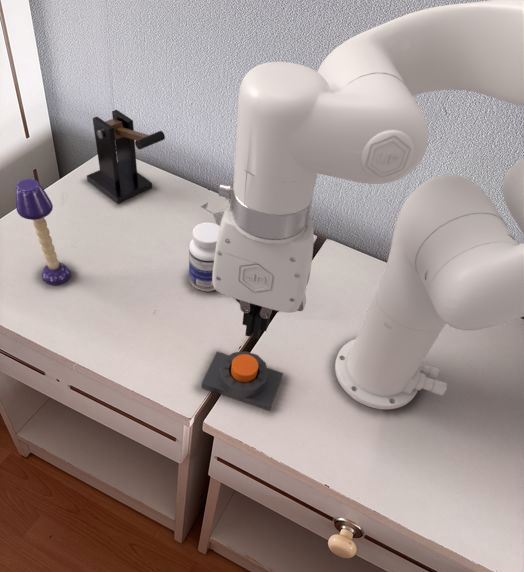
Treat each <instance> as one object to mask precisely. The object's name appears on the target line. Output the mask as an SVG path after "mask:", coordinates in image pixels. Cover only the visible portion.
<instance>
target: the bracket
mask: <svg viewBox="0 0 524 572" xmlns="http://www.w3.org/2000/svg"><path fill="white" fill-rule="evenodd" d="M111 114H112V115H111V116H112V119H114V120H118V121H122V124H123V128H126V129H130V130H133V131H135V130H134V129H135V127H134V120H133V119H131V118H130V117H129V116H127V115H126V114H124V113H122V112H121V111H119V110H118V109H114V110H111ZM105 121H106V120H103V119H101V118H100V117H98V116H95V117H92V125H93V132H94V138H95V139H94V140H95V146H96V152H97V159H98V166H99V170H97V171H94V172H91V173H89V174H87V175H86V180H87V182H88V183H90V185H92V186H93V187H95V188H96V189H97V190H98V191H100V192H101V193H102V194H104V195H105V196H106V197H108V198H109V199H110V200H112V201H113V202H114V203H116V204H117V205H120V204H122V203H124V202H127V201H128V200H130V199H132V198H135V197H137V196H139V195H141V194H143V193H145V192H148V191H149V190H152V189H153V182H152V181H150V180H149V179H148V178H146V177H145V176H144V175H142V174H141V173H139V172H138V168H137V155H136V145H135V141H136V140H133V139H130V138H126V137H121V138H119V139H116V140H115V136H114V128H113V127H112V126H110V125H109V124H107V123H106V122H105Z"/></svg>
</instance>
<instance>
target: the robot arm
mask: <svg viewBox="0 0 524 572" xmlns="http://www.w3.org/2000/svg"><path fill="white" fill-rule="evenodd" d="M449 90H450V91H451V90H454V91H464V92H465V91H466V92H473V93H476V94H481V95H484V96H488V97H491V98H494V99H495V100H499V101H502V102H505V103H508V104H513V105H516V106H519V107H520V106H521V107H524V0H482V1H473V2H462V3H453V4H446V5H438V6H433V7H429V8H424V9H420V10H416V11H413V12H410V13H407V14H405V15H402V16H399V17H397V18H393V19H392V20H388V21H386V22H384V23H381V24H379V25H377V26H375V27H371V28H369V29H367V30H365V31H363V32H361V33H358V34H356V35H354V36H353V37H351V38H350V37H349V38H348V39H347V40H345V41H344V42H342V43H340V45H338V46H336V47H335V48H333V50H332V51H331V52H329V54H328V55H327V56H325V58H324V59H323V61H322V62H321V64H320V65H319V67H318V69H317V71H316V70H315V69H313V68H312V67H308V66H306V65H303V64H299V63H295V62H291V61H289V62H288V61H269V62H264V63H260V64H258V65H256V66H255V67H252V68H251V69H250V70H249V71H247V73H246V74H245V75H244V77H243V79H242V81H241V83H240V86H239V91H238V103H237V119H236V120H237V121H236V133H235V134H236V135H235V136H236V137H235V151H234V168H233V169H234V170H233V182H232V183H231V182H229V183H227V182H221V183H220V184H219V188H218V197H221V198H225V200H226V201H228V203H229V205H228V207H227V208H226V209H225V210H224V211H223V212H224V214H223V217H222V220H221V224H220V228H219V232H218V238H217V243H216V250H215V257H214V265H213V275H212V282H213V287H214V288H215V289H216V290H215V291H217V292H218V293H220V294H221V295H224V296H226V297H229V298H232V299H234V300H235V301H236V302H237V303H238V304H239V309H240V311H241V312H242V313H243V315H242V325H243V326H246V327H245V335H244V336H245V337H248V338H250V337H252V338H253V339H256V340H259V337H260V335H261V333H262V332H267V330H268V328H269V324H270V319H271V315H273V314H276V313H280V312H281V313H288V314H291V313H295V312H303V311H304V309H305V306H306V303H307V299H306V291H307V286H308V284H309V281H310V277H311V270H312V265H313V264H312V263H313V255H314V254H313V253H314V241H315V240H314V239H315V236H314V231H315V230H314V222H313V219H312V218H311V216H310V212H311V209H312V203H313V197H314V192H315V188H316V183H317V179H318V174H319V175H323V176H328V177H333V178H337V179H341V180H346V181H351V182H355V183H360V184H369V185H382V184H388V183H393V182H396V181H399V180H400V179H403V178H404V177H406V176H408V175H409V174H410V173H412V172H413V171H414V170H415V169H416V168H417V167H418V166H419V164H420V163H421V162H422V160H423V159H424V156H425V154H426V151H427V149H428V143H429V128H428V123H427V120H426V118H425V115H424V114H423V111H422V109H421V107H420V106H419V104H418V103H417V101H416V99H415V98H414V96H417V95H421V94H424V93H429V92H436V91H449ZM501 190H502V191H501V192H502V197H503V201H504V202H505V203H504V204H505V206H506V209H508V211H509V213H510V215H511V217H512V218H513V220H514V221H515V223H516V225H517V226H518V228H519V229H520V230H521V232H522V233H523V234H524V157H521V158H520V159H518V160H517V161H516V162H514V164H513V165H512V166H510V168H509V169H508V170H507V172H506V174H505V176H504V177H503V181H502V188H501ZM521 318H524V242H522V243H519V242H518V241H517V239H516V238H515V236H514V235H513V233H512V231H511V230H510V229H509V226H508V224H507V223H506V221H505V219H504V218H503V216H502V215H501V213H500V211H498V208H497V207H496V205H495V204H494V203H493V201H492V200H491V198H490V197H489V196H488V194H487V193H486V192H485V191H484V189H482V188H481V187H480V186H479V185H478V184H477V183H475V182H474V181H473V180H471V179H469V178H467V177H464V176H461V175H457V174H442V175H437V176H434V177H431V178H430V179H427V180H425V181H424V182H422V183H421V184H420V185H418V186H417V187H416V188H414V190H413V191H412V192H410V194H409V195H408V196H407V198H406V200H405V201H404V202H403V205H402V206H401V209H400V211H399V213H398V215H397V218H396V222H395V226H394V230H393V235H392V239H391V245H390V250H389V254H388V258H387V261H386V265H385V267H384V271H383V273H382V276H381V278H380V281H379V283H378V284H377V287H376V290H375V291H374V294H373V297H372V299H371V302H370V304H369V307H368V309H367V311H366V314H365V316H364V319H363V320H362V324H361V325H360V328H359V331H358V333H357V335H356V338H353V339H351V340H349V341H348V342H346V343H345V344H344V345H342V347H341V348H340V349H339V351H338V354H337V355H336V358H335V363H334V370H335V376H336V379H337V381H338V383H339V384H340V385H339V386H341V388H342V389H343V390H344V391H345V393H346V394H347V395H349V396H350V397H351V398H352V399H353V400H354V401H356V402H358V403H360V404H361V405H363V406H367V407H369V408H373V409H377V410H395V409H399V408H402V407H404V406H405V405H407V404H409V403H410V402H411V401H412V400H414V398H415V396H416V395H417V393H418V391H421V390H426V391H428V392H429V393H431V394H435V395H439V396H441V397H442V396H444V395H445V394H446V391H447V387H448V383H447V382H445V381H441V380H439V379H436V378H438V377H439V374H440V368H438V367H434V366H431V365H426V364H425V362H424V360H425V358H426V357H427V356H428V354H429V352H430V350H431V349H432V347H433V346H434V344H435V343H436V341H437V339H438V337H439V336H440V334H441V333H442V332H443V330H444V328H445V326H446V325H448V326H449V327H451V328H453V329H456V330H461V331H480V330H484V329H489V328H493V327H496V326H499V325H503V324H505V323H508V322H512V321H515V320H518V319H521ZM426 375H427V376H429V377H427V376H426ZM430 377H432V378H430ZM433 378H434V379H433Z"/></svg>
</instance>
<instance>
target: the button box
mask: <svg viewBox="0 0 524 572" xmlns="http://www.w3.org/2000/svg"><path fill="white" fill-rule="evenodd" d="M241 354H247V355H251V356H253V357H254V358H255V359H256V360H257V362H258V372H257V376H256V378H255V379H254V380H253V381H251V382H248V383H242V382H239V381H237V380H235V379H234V378H233V376H232V374H231V366H232V361H233V359H234V358H235V357H236V356H238V355H241ZM283 376H284V373H283V372H281V371H278V370H275V369H272V368H269V367H268V366H267V363H266V362H265V360H264V359H263V358H261V357H260V356H259V355H258V354H255V353H252V352H250V351H245V350H244V351H234V352H232V353H230V354H227V353H223V352H221V351H216V352H215V355H214V357H213V359H212V361H211V362H210V365H209V367H208V369H207V371H206V373H205V375H204V376H203V379H202V382H201V385H200V386H201V389H203V390H206V391H208V392H212V393H215V394H217V395H221V396H224V397H227V398H230V399H233V400H237V401H239V402H242V403H245V404H248V405H251V406H254V407H257V408H260V409H263V410H266V411H270V412H271V409H272V406H273V403H274V400H275V398H276V396H277V394H278V389H279V387H280V384H281V381H282V379H283Z"/></svg>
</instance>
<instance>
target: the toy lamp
mask: <svg viewBox="0 0 524 572" xmlns="http://www.w3.org/2000/svg"><path fill="white" fill-rule="evenodd" d="M53 207H54V205H53V202H52V200H51V199H50V197H49V196H48V194H47V192H46V191H45V189H44V187H43V186H42V185H41V183H40V182H39V181H38V180H36V179H33V178H23V179H22V180H19V181H18V182H17V184H16V185H15V208H16V212H17V214H18V215H19V216H20V217H21V218H23V219H26V220H31V221H32V224H33V227H34V228H35V234H36V236H37V237H38V243H39V244H40V249H41V251H42V253H43V257H44V259H45V260H46V265H45V266H44V267H43V269H42V271H41V278H42V281H43V282H44V283H45V284H47V285H52V286H58V285H62V284H64V283H67V282H68V280H69V279H70V278H71V271H70V269H69V267H68V266H67V265H66V264H64V263H63V262H60V261H59V259H58V255H57V253H56V251H55V250H56V248H55V245H54V244H53V239H52V237H51V235H50V229H49V227H48V224H47V220H46V219H45V218H46V217H48V216H50V214H51V213H52V211H53V209H54V208H53Z"/></svg>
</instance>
